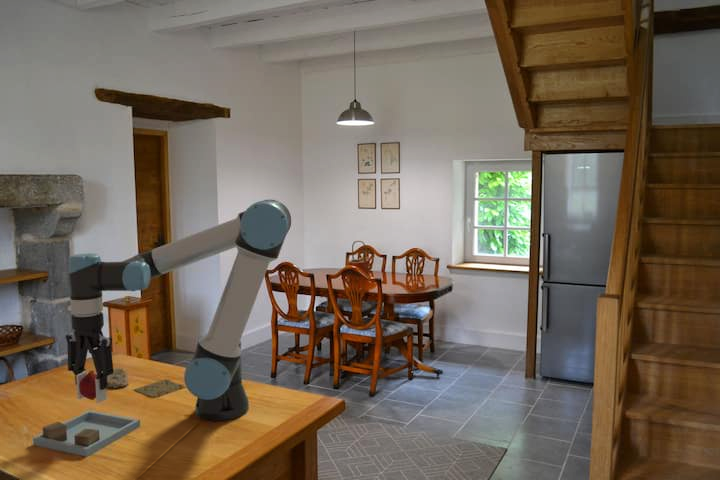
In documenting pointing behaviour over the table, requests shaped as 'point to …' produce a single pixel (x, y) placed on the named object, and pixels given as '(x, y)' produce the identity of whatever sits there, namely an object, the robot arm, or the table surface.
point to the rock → (117, 378)
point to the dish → (105, 423)
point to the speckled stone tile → (159, 388)
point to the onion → (88, 385)
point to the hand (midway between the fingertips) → (92, 398)
